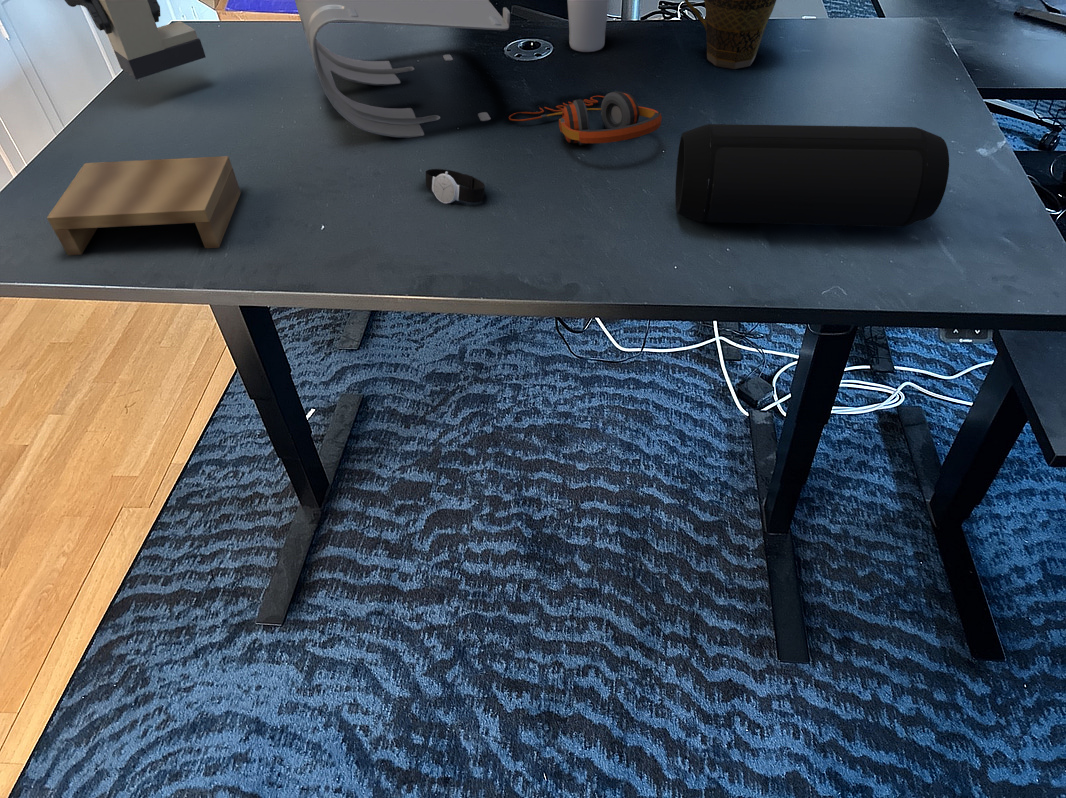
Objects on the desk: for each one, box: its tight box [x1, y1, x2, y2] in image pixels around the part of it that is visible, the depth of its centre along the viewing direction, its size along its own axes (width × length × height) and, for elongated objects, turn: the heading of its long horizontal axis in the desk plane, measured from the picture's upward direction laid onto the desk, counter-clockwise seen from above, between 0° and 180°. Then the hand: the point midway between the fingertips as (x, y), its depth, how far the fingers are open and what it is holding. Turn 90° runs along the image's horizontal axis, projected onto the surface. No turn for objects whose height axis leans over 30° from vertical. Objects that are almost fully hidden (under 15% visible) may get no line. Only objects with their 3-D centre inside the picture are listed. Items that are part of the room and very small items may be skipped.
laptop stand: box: [294, 0, 511, 139], centre depth 101 cm, size 26×24×16 cm
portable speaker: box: [674, 123, 950, 228], centre depth 80 cm, size 26×10×10 cm, turn 85°
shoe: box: [98, 0, 206, 80], centre depth 102 cm, size 10×5×10 cm, turn 133°
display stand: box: [46, 155, 242, 256], centre depth 84 cm, size 16×11×5 cm
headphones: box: [508, 90, 663, 147], centre depth 96 cm, size 17×5×20 cm
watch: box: [425, 168, 486, 204], centre depth 87 cm, size 8×5×4 cm, turn 56°
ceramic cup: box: [684, 0, 777, 70], centre depth 109 cm, size 13×10×10 cm
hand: (132, 24), depth 99 cm, fingers closed on shoe, 5 cm apart
